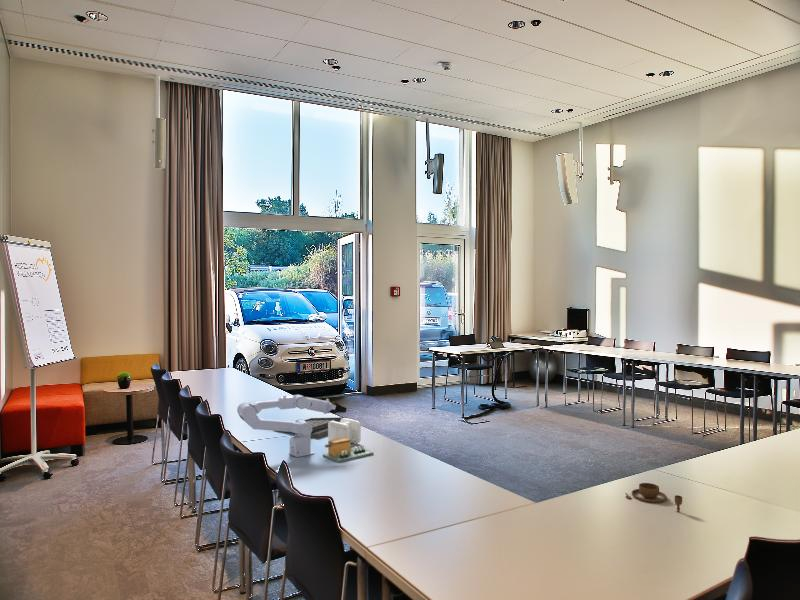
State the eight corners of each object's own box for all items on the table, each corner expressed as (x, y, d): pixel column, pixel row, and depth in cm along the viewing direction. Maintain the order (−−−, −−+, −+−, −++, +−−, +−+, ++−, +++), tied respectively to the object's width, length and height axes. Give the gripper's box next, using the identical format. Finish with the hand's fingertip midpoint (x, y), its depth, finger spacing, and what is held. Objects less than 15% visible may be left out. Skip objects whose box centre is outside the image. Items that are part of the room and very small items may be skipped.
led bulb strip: (355, 453, 264) (355, 447, 264) (353, 453, 265) (353, 446, 265) (365, 451, 267) (365, 445, 267) (363, 450, 268) (363, 444, 268)
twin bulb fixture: (341, 458, 256) (341, 451, 256) (339, 457, 257) (339, 451, 257) (348, 456, 259) (348, 450, 259) (347, 456, 260) (347, 449, 260)
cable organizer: (362, 444, 283) (362, 421, 283) (346, 448, 276) (346, 425, 276) (342, 439, 294) (342, 417, 294) (326, 443, 286) (326, 420, 286)
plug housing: (328, 457, 258) (328, 444, 258) (322, 454, 262) (322, 441, 262) (350, 452, 266) (350, 439, 266) (344, 450, 270) (344, 437, 270)
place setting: (670, 495, 214) (671, 479, 214) (685, 515, 195) (685, 498, 195) (622, 491, 218) (622, 476, 218) (631, 511, 199) (631, 494, 199)
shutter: (275, 441, 311) (318, 442, 294) (273, 429, 311) (317, 428, 295) (312, 426, 338) (354, 426, 322) (311, 415, 338) (353, 414, 322)
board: (338, 462, 253) (338, 460, 253) (322, 456, 263) (322, 453, 263) (373, 454, 266) (373, 452, 266) (357, 448, 276) (357, 446, 276)
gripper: (325, 396, 266) (350, 402, 272) (313, 397, 278) (337, 402, 284) (322, 411, 263) (347, 416, 270) (310, 411, 276) (334, 416, 282)
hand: (342, 410), depth 277 cm, fingers open, 7 cm apart
